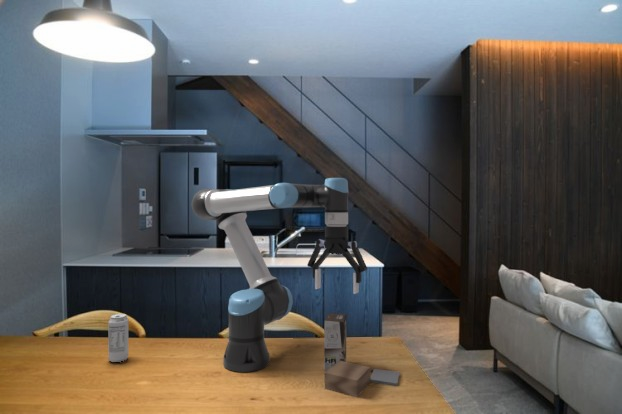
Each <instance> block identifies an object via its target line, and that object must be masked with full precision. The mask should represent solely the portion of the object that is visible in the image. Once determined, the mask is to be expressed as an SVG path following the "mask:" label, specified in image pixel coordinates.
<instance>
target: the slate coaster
mask: <svg viewBox="0 0 622 414" xmlns="http://www.w3.org/2000/svg"><path fill="white" fill-rule="evenodd" d="M400 374H401V373H400V371H395V370H394V371H393V370H386V369H379V368H378V369H377V368H374V369H373V371H372V372H371V374H370V383H374V384H381V385H387V386H392V387H393V386H394V387H397V386H398V384H399V381H400V380H399V379H400V376H401V375H400Z"/></svg>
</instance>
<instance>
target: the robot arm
mask: <svg viewBox="0 0 622 414" xmlns="http://www.w3.org/2000/svg"><path fill="white" fill-rule="evenodd" d="M348 183H349V182H348V180H347V178H344V177H329V178H328V177H327V178H325V180H324V184H323V183H322V184H304V183H303V184H302V183H292V182H291V183H289V182H278V183H276V184H272V185H263V186H256V187H255V186H254V187H247V188H239V189H229V188H226V189H220V188H217V189H215V188H204V189H201V190H199V191H197V192H196V193H195V194H194V195H193V198H192V200H191V208H192V209H191V210H192V211H193V213H194V214H195V216H196V217H198V218H199V219H201V220H205V221H215V223H216V224H217V227H218V228H219V229H220V230H224V232H225V234H226V236H227V238H228V240H229V243H230V245H231V247H232V250H233V252H234V254H235V257H236V258H237V260H238V262H239V266H240V267H241V270H242V271H243V274H244V276H245V278H246V281H247V283H248V284H249V288H246V289H241V290H238V291H236V292H234V293H232V294H231V295H230V297H229V299H228V308H227V309H228V310H227V311H228V341H227V344H226V348H225V352H224V354H223V356H222V357H223V359H222V361H223V362H222V363H223V364H222V365H223V367H224V368H225V369H226V370H228V371H231V372H236V373H248V372H255V371H258V370H263V369H264V368H266V367H267V366H268V365H269V364H270V353H269V351H268V346H267V343H266V341H265V326H266V325H269V324H271V323H273V322H275V321H279V320H281V319H283V318H284V317H286V316H288V315H289V314H290V312H291V311H292V307H293V303H294V301H293V299H294V298H293V294H292V292H291V291H290V289H289V288H288V287H287V286H285V285H282V284H281V283H280V281H279V279H278V277H275V276H273V275H272V274H271V272H270V270H269V268H268V265H267V264H266V261H265V260H264V258H263V255H262V253H261V251H260V249H259V247H258V245H257V242H256V241H255V239H254V236H253V234H252V232H251V230H250V228H249V226H248V224H247V221H246V219H247V217H248V215H247V212H252V211H261V210H263V211H264V210H274V209H276V210H277V209H288V208H324V224H325V225H326V226H325V227H324V240H323V239H322V238H319V239H316V242H315V247H314V249H313V251H312V253H311V256H310V258H309V260H308V263H307V267H309V268H311V269H312V279H313V280H314V290H318V289H321V288H322V285H321V284H322V281H321V279H322V275H321V274H322V272H321V271H322V268H320V266H321V265H322V264H323V263H324V261H325V260H326V259H327V258H328V256H329V255H339V256H343V257H344V258H345V260H346V261H347V262H348V264H349V265H350V266H351V268H352V270H354V272H353V273H352V275H353V278H352V280H353V281H352V284H353V287H352V288H353V291H352V294H354V295H356V294H358V293H359V292H360V290H359V289H360V287H359V286H360V284H361V283H362V273H363V272H366V271H367V270H368V266H367V265H366V263H365V260H364V258H363V256H362V254H361V251H360V249H359V246H358V245H359V244H358V241H357V240H354V241H349V227H348V226H347V225H349V193H350V192H349V184H348ZM322 247H325V249H324V250H323V252H322V253H321V255H320V252H321V250H322ZM348 248H351V251H352V254H353V255H354V257H355V258H354V257H353V255H352V254H351V252H350V251H349V249H348ZM319 255H320V256H319ZM318 257H319V258H318ZM355 259H356V260H355Z"/></svg>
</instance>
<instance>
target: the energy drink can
mask: <svg viewBox="0 0 622 414" xmlns="http://www.w3.org/2000/svg"><path fill="white" fill-rule="evenodd" d="M107 322H108V327H107V328H108V331H107V332H108V338H107V339H108V340H107V343H108V344H107V345H108V360H109V361H111V362H120V363H122V362H121V361H123V362H125V361H127V359H128V358H129V318H128V317H127V314H125V313H115V314H112V315H110V318H109V320H108V321H107ZM124 360H125V361H124ZM111 362H110V363H111Z"/></svg>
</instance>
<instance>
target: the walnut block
mask: <svg viewBox="0 0 622 414" xmlns="http://www.w3.org/2000/svg"><path fill="white" fill-rule="evenodd" d="M370 377H371V366H366V365H361V364H357V363H353V362H348V361H346V362H344V361H339V362H337V363H336V364H335V365H334V366H332V367H331V368H330V369H329V370H327V371H325V372H324V390H328V391H331V392H335V393H339V394H343V395H345V396H350V397H353V398H356V399H357V398H358V397H359V396H360V395H361V394H362V393H363V392H364V391H365V389H367V388H368V386H369V385H370V384H371V382H370Z"/></svg>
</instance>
